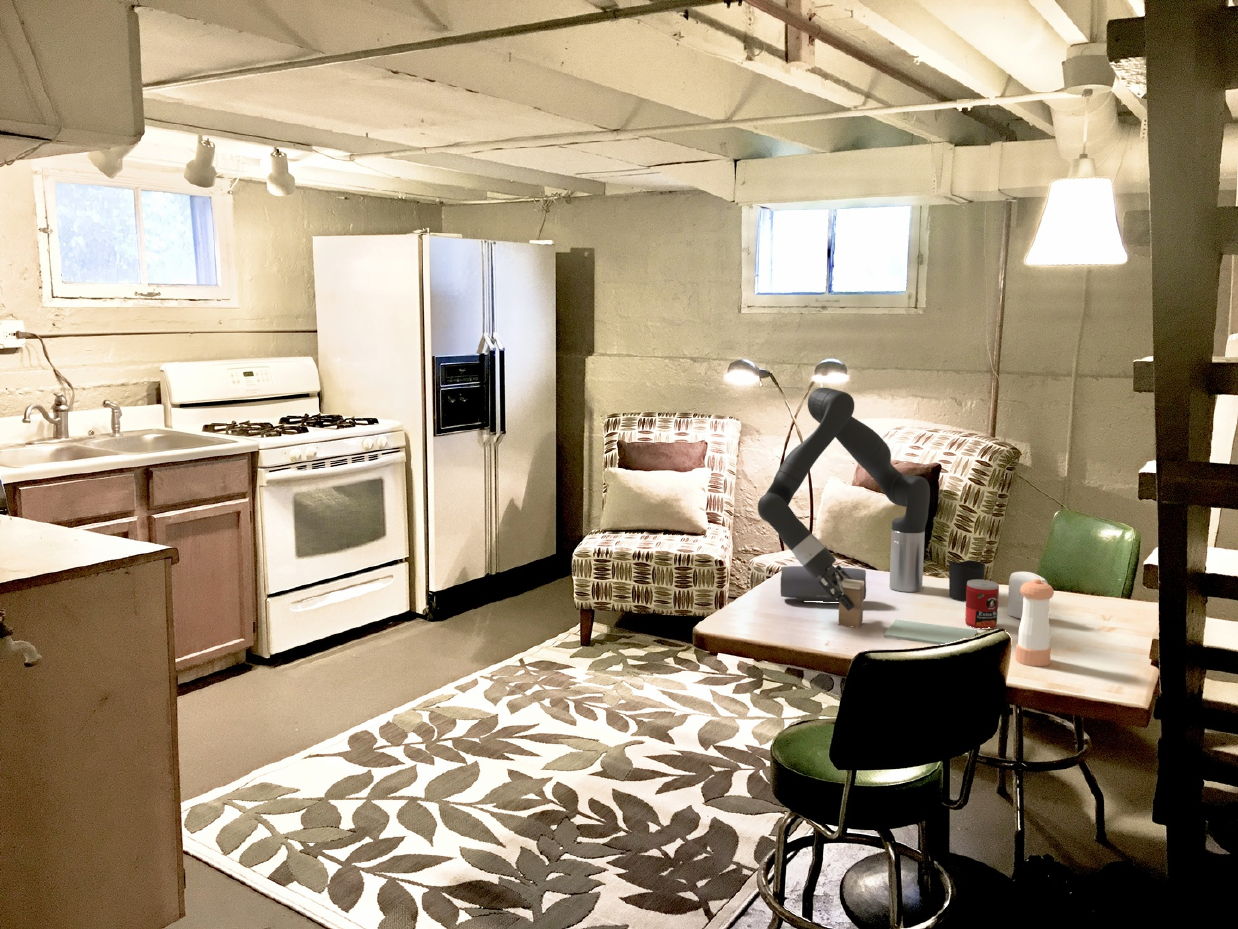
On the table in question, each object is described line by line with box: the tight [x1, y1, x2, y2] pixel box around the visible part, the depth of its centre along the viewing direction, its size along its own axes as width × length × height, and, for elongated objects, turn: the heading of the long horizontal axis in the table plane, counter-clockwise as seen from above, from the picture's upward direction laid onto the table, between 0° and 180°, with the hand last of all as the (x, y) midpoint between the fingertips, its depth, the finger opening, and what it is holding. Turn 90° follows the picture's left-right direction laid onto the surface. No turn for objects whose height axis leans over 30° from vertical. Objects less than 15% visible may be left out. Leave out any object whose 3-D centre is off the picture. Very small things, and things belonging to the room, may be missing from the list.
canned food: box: [964, 579, 1000, 630], centre depth 252 cm, size 8×8×11 cm
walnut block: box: [837, 579, 864, 628], centre depth 253 cm, size 5×5×11 cm
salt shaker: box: [1015, 579, 1055, 667], centre depth 224 cm, size 7×7×19 cm
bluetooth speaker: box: [780, 565, 867, 602], centre depth 273 cm, size 23×9×10 cm, turn 82°
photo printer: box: [1007, 571, 1049, 620], centre depth 257 cm, size 10×4×12 cm, turn 29°
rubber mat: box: [883, 619, 978, 645], centre depth 244 cm, size 14×20×1 cm
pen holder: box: [948, 559, 986, 602], centre depth 277 cm, size 9×9×10 cm
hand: (856, 604), depth 252 cm, fingers open, 8 cm apart
